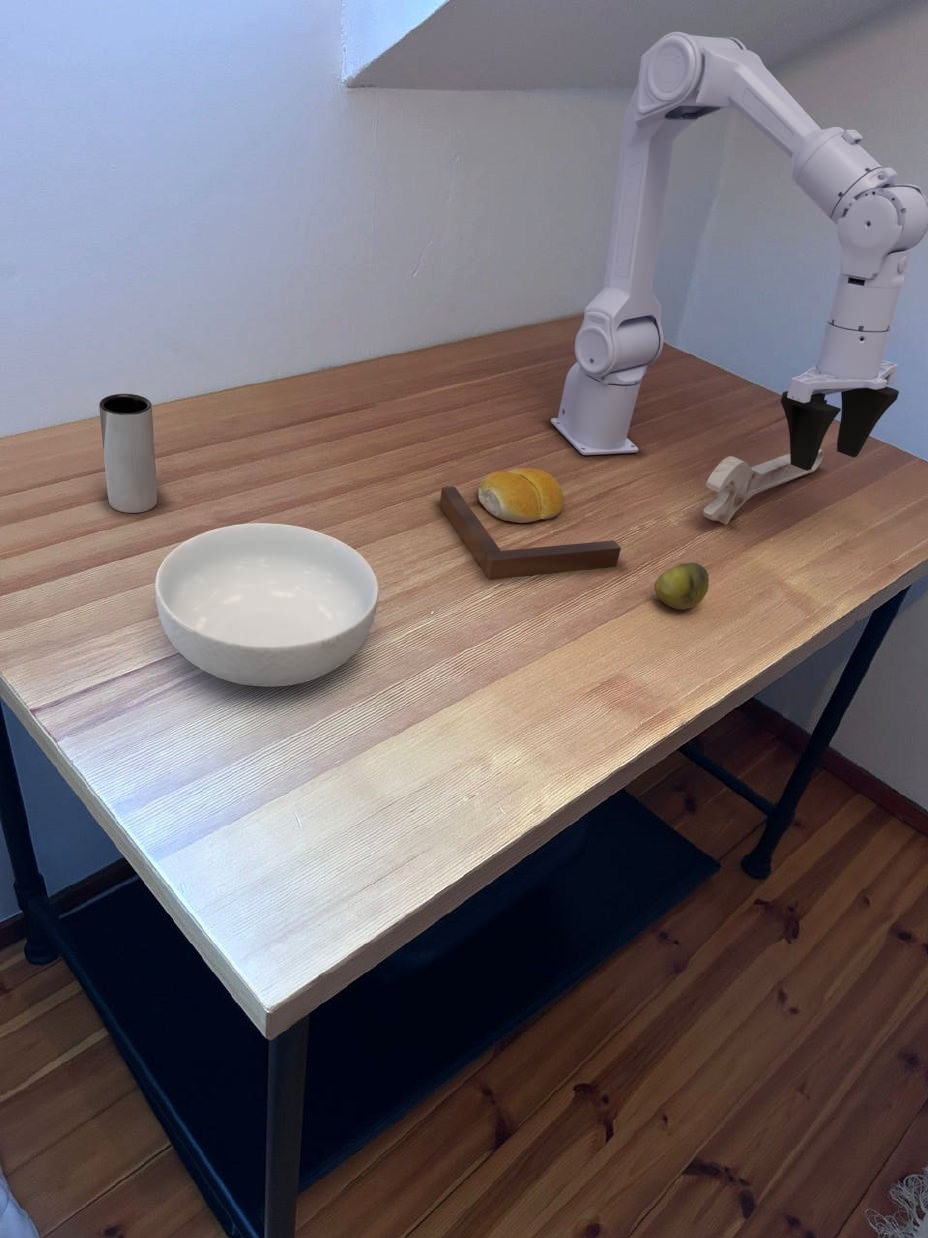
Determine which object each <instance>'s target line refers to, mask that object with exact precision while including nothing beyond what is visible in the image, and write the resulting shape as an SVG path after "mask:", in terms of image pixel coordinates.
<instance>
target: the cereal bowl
mask: <svg viewBox="0 0 928 1238" xmlns="http://www.w3.org/2000/svg"><path fill="white" fill-rule="evenodd" d="M154 593H155V602H156V610H157V612H158V619H159V620H160V624H161V627H162V628H163V631H164V633H165V635H166V636H167V638H168V640H169V641H170V643H171V644H172V645H173V647H174V648H175V649H176V650H177V652H178V653H179V654H180V655H182V656H183V657H184V658H185V659H186V660H187V661H189V662H190V663H191V664H192V665H194V666H195V667H197V668H199V669H200V670H201V671H204V672H206V673H207V674H210V675H211V676H214V677H216V678H218V679H222V680H225V681H228V682H232V683H234V684H239V685H244V686H252V687H253V686H255V687H267V688H268V687H275V688H276V687H284V686H291V685H292V686H293V685H297V684H302V683H306V682H311V681H313V680H314V679H315V680H316V679H318V678H320V677H321V678H322V677H323V676H325V675H328V674H329V673H331V672H332V671H335V670H336V669H337V668H340V667H341V666H342V665H343V664H345V663H346V662H348V661H349V660H350V658H352V657H353V656H354V655H355V654H356V652H358V651H359V649H360V648H361V646H362V645H363V644H364V643H365V641H366V639H367V637H368V636H369V633H370V630H372V626H373V623H374V621H375V616H376V614H377V609H378V608H377V607H378V604H379V597H380V588H379V582H378V578H377V576H376V574H375V571H374V569H373V568H372V566H371V565H370V562H368V561H367V559H365V557H364V556H363V555H362V554H361V553H359V551H357V550H355V549H354V548H353V547H351V546H350V545H349V544H347V543H345V542H344V541H341V540H340V539H337V538H335V537H333V536H331V535H328V534H326V533H323V532H320V531H317V530H314V529H311V528H307V527H303V526H298V525H292V524H283V523H271V522H270V523H268V522H267V523H265V522H261V523H260V522H259V523H240V524H233V525H228V526H221V527H218V528H215V529H211V530H207V531H205V532H203V533H199V534H197V535H194V536H193V537H191V538H188V539H187V540H185V541H184V542H182V543H181V544H179V545H177V546H176V547H175V548H174V549H173V550H171V552H169V553H168V554H167V555H166V557H165V558H164V559H163V561H162V562H161V563H160V565H159V567H158V569H157V572H156V576H155V580H154Z"/></svg>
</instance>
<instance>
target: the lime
mask: <svg viewBox="0 0 928 1238" xmlns="http://www.w3.org/2000/svg"><path fill="white" fill-rule="evenodd" d="M709 580H710V579H709V573H708V570H707V568H705V567H704V566H703V565H701V564H699V563H697V562H687V563H680V564H677V565H676V566H673V567H671V568H669V569H668V570H666V571H664V572H663V573H661V575H660V576H659V577H658V578H657V579H656V580H655V582H654V592H655V595H656V596H657V598H658V599H659V600H660V601H661V602H662V603H663V604H665V605H667V606H669V607H671V608H672V609H676V610H686V609H690V608H694V607H695V606H697V605H698V604H700V603H702V601H703V600H704V598H705V596H706V595H707V593H708V591H709V585H710V584H709V583H710V581H709Z"/></svg>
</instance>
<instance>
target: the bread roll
mask: <svg viewBox="0 0 928 1238" xmlns="http://www.w3.org/2000/svg"><path fill="white" fill-rule="evenodd" d="M477 492H478V493H477V495H478V501H479V502H480V504H481V505H482V506H483V507H484V508H485V510H486V511H487V512H489V514H491V515H492V516H494V517H496V518H497V519H499V520H502V521H505V522H511V523H519V524H523V523H533V522H536V521H540V520H549V519H552V518H554V517H556V516H558V515H559V514H560V512H561V511H562V509H563V505H564V493H563V490H562V487H561V486H560V483H559V482H558V481H557V480H556V478H555V477H554V476H553V475H551V474H550V473H548V472H547V471H545V470H542V469H539V468H538V469H537V468H530V467H529V468H528V467H525V468H524V467H516V468H512V469H510V470H508V471H493V472H490V473H488V475H487V476H486V477H484V478H483V480H482V481H481V482H480V484H479V487H478V489H477Z"/></svg>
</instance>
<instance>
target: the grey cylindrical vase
mask: <svg viewBox="0 0 928 1238" xmlns="http://www.w3.org/2000/svg"><path fill="white" fill-rule="evenodd" d="M98 407H99V419H100V430H101V439H102V440H101V441H102V449H103V450H102V451H103V459H104V460H103V461H104V469H105V480H106V481H105V482H106V490H107V499H108V504H109V506H110V507H111V508H112V509H114V510H116V511H118V512H121V513H127V514H138V513H144V512H147V511H150V510H151V509H153V508H154V507H156V505H157V504H158V483H157V467H156V466H157V465H156V452H155V451H156V450H155V436H154V435H155V433H154V420H153V419H154V418H153V417H154V416H153V404H152V402H151V401H150V400H149V399H148V398H147V397H144V396H141V395H139V394H135V393H134V394H133V393H116V394H110V395H108V396H106V397H103V398H102V399H101V400H100V401H99V404H98Z"/></svg>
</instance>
